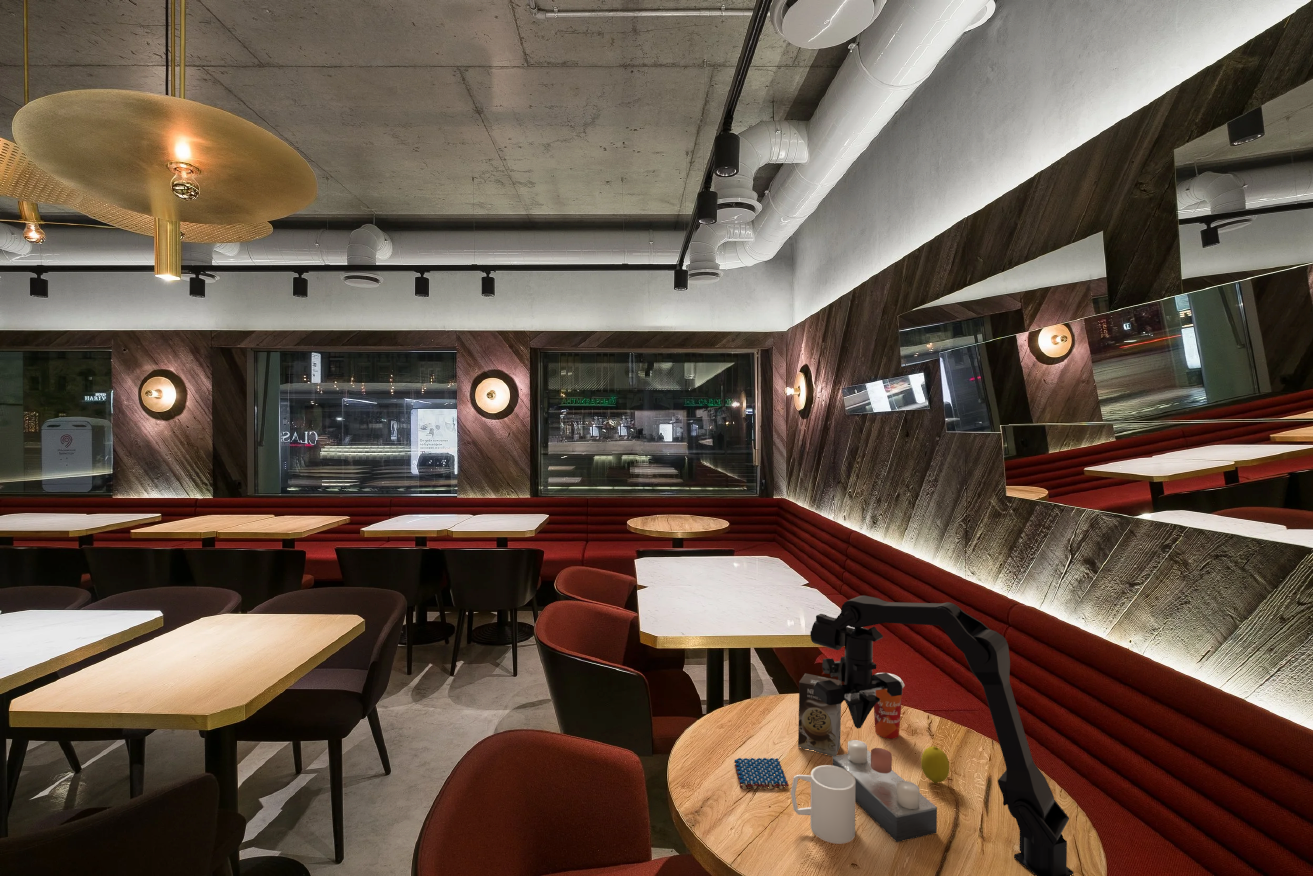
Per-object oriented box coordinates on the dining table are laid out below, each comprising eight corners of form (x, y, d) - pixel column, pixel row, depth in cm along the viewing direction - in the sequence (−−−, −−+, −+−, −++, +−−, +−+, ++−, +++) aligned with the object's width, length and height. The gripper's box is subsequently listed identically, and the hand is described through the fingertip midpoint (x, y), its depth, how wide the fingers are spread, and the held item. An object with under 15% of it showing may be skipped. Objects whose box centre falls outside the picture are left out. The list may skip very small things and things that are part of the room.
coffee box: (797, 748, 144) (797, 681, 144) (803, 736, 150) (804, 672, 150) (836, 758, 140) (836, 689, 140) (841, 745, 145) (842, 679, 145)
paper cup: (871, 738, 149) (872, 682, 149) (870, 724, 156) (870, 670, 156) (905, 743, 147) (906, 686, 146) (902, 728, 154) (903, 674, 154)
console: (936, 833, 114) (936, 807, 114) (896, 842, 111) (896, 815, 111) (867, 772, 134) (868, 750, 134) (832, 779, 132) (832, 756, 131)
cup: (788, 812, 120) (788, 763, 120) (849, 816, 119) (850, 766, 119) (793, 841, 112) (793, 787, 112) (859, 845, 111) (860, 791, 110)
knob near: (924, 807, 114) (924, 791, 114) (906, 810, 112) (906, 794, 112) (909, 794, 117) (909, 779, 117) (892, 798, 116) (892, 782, 116)
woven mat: (790, 792, 127) (790, 782, 127) (740, 792, 127) (740, 783, 127) (779, 765, 138) (779, 756, 138) (733, 765, 138) (733, 756, 138)
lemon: (952, 792, 127) (952, 754, 127) (924, 789, 128) (924, 751, 128) (945, 777, 132) (945, 741, 132) (918, 774, 133) (918, 738, 133)
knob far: (871, 762, 129) (871, 748, 129) (854, 764, 128) (855, 750, 128) (859, 752, 133) (859, 738, 133) (843, 755, 132) (844, 741, 132)
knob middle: (896, 771, 121) (896, 756, 121) (879, 774, 120) (879, 759, 120) (883, 761, 125) (883, 746, 125) (866, 764, 124) (866, 749, 124)
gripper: (872, 639, 140) (871, 705, 141) (800, 647, 135) (800, 716, 135) (904, 656, 130) (903, 728, 130) (828, 666, 124) (827, 740, 125)
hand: (857, 727), depth 130 cm, fingers closed
